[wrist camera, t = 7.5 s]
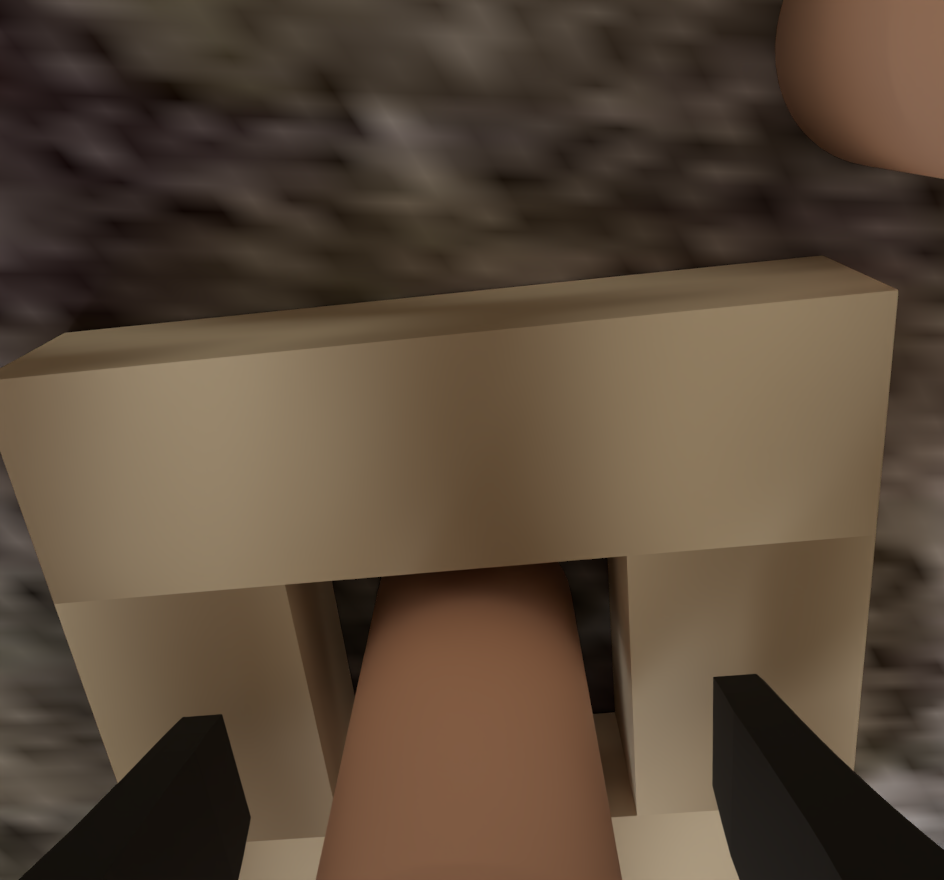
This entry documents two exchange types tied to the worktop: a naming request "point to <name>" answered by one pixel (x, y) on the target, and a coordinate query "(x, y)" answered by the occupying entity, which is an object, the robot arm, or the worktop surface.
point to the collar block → (467, 513)
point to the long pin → (472, 737)
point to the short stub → (866, 79)
